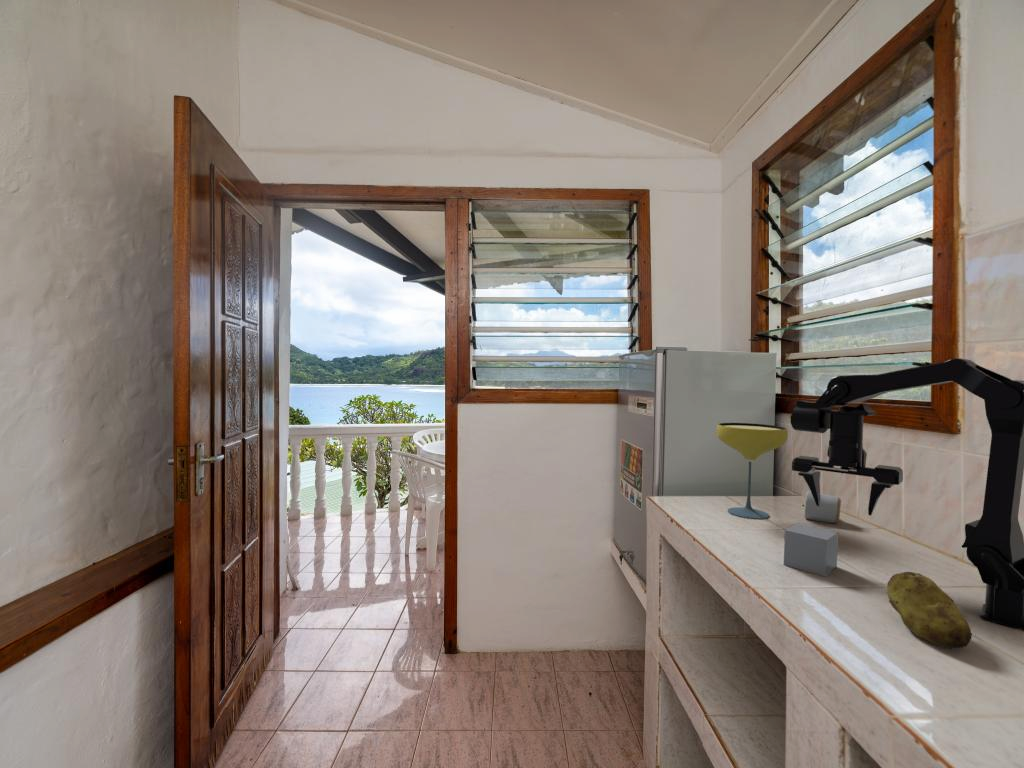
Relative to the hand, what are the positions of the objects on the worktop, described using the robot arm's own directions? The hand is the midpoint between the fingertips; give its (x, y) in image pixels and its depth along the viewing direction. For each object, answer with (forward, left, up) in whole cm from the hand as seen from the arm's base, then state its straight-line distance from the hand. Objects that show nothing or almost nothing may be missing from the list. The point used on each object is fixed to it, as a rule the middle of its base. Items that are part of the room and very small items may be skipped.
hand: (843, 510), depth 105 cm
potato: (-21, -16, -12) cm, 29 cm away
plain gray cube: (-5, +4, -12) cm, 13 cm away
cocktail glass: (+25, +29, -12) cm, 40 cm away
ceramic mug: (+36, +13, -12) cm, 40 cm away
